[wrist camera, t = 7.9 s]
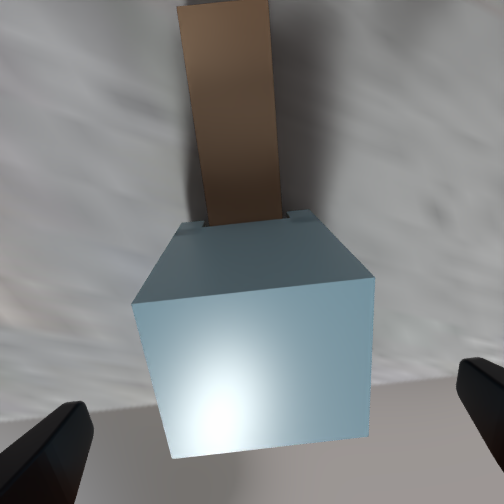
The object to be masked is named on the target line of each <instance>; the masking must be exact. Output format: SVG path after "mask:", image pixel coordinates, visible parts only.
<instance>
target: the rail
mask: <svg viewBox="0 0 504 504" xmlns="http://www.w3.org/2000/svg"><path fill="white" fill-rule="evenodd" d="M177 13H178V20H179V27H180V33H181V40H182V47H183V53H184V60H185V67H186V73H187V80H188V86H189V93H190V100H191V106H192V113H193V120H194V126H195V133H196V140H197V146H198V153H199V159H200V166H201V173H202V179H203V186H204V193H205V199H206V206H207V213H208V219H209V226H219V225H228V224H238V223H247V222H256V221H265V220H275V219H283V217H282V202H281V187H280V172H279V157H278V142H277V127H276V112H275V97H274V82H273V67H272V52H271V37H270V22H269V7H268V0H237V1H227V2H217V3H208V4H198V5H188V6H178V7H177Z"/></svg>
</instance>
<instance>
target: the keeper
mask: <svg viewBox="0 0 504 504" xmlns="http://www.w3.org/2000/svg"><path fill="white" fill-rule="evenodd" d="M286 216H287V218H284V219H275V220H265V221H256V222H247V223H238V224H228V225H219V226H210V227H205V220H204V221H195V222H185V223H181V225H180V226H179V228H178V230H177V231H176V233H175V235H174V236H173V238H172V239H171V241H170V243H169V244H168V246H167V247H166V249H165V251H164V252H163V254H162V255H161V257H160V259H159V260H158V262H157V264H156V265H155V267H154V268H153V270H152V272H151V273H150V275H149V276H148V278H147V280H146V281H145V283H144V285H143V286H142V288H141V289H140V291H139V293H138V294H137V296H136V297H135V299H134V301H133V302H132V304H131V305H132V309H133V312H134V316H135V320H136V324H137V327H138V331H139V335H140V339H141V343H142V346H143V350H144V354H145V358H146V362H147V365H148V369H149V373H150V377H151V381H152V384H153V388H154V392H155V396H156V400H157V403H158V407H159V411H160V415H161V418H162V422H163V426H164V430H165V434H166V437H167V441H168V445H169V449H170V453H171V456H172V459H175V458H184V457H193V456H202V455H211V454H219V453H227V452H237V451H245V450H254V449H263V448H272V447H280V446H288V445H289V446H290V445H298V444H307V443H316V442H323V441H324V442H325V441H333V440H342V439H350V438H360V437H368V435H369V412H370V388H371V364H372V340H373V316H374V291H375V277H374V276H373V275H372V274H371V273H370V272H369V271H368V270H367V269H366V268H365V267H364V266H363V264H362V263H361V262H360V261H359V260H358V259H357V258H356V257H355V256H354V255H353V254H352V253H351V252H350V251H349V250H348V249H347V248H346V247H345V246H344V245H343V244H342V243H341V242H340V241H339V240H338V239H337V238H336V237H335V236H334V235H333V234H332V233H331V232H330V230H329V229H328V228H327V227H326V226H325V225H324V224H323V223H322V222H321V221H320V220H319V219H318V218H317V217H316V216H315V215H314V214H313V213H312V212H311V211H310V210H309V209H306V210H297V211H288V212H286Z"/></svg>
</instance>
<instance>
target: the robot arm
mask: <svg viewBox="0 0 504 504" xmlns="http://www.w3.org/2000/svg"><path fill="white" fill-rule="evenodd" d="M456 390H457V393H458V396H459V398H460V400H461V401H462V403H463V405H464V407H465V408H466V410H467V412H468V413H469V415H470V417H471V419H472V420H473V422H474V424H475V426H476V427H477V429H478V431H479V433H480V434H481V436H482V438H483V439H484V441H485V443H486V445H487V446H488V448H489V450H490V452H491V453H492V455H493V457H494V458H495V460H496V462H497V463H498V465H499V466H500V467H501V469H502V471H503V472H504V368H503V367H501V366H499V365H497V364H494V363H492V362H490V361H488V360H486V359H483V358H480V357H475V358H466V359H462V360H461V362H460V364H459V370H458V376H457V383H456ZM93 434H94V427H93V423H92V421H91V419H90V415H89V412H88V410H87V407H86V405H85V403H84V402H83V401H74V402H67V403H64V404H62V405H61V406H59V407H58V408H57V409H56V410H54V411H53V412H52V413H51V414H49V415H48V416H47V417H46V418H44V419H43V420H42V421H40V423H38V424H37V425H36V426H34V427H33V428H32V429H30V430H29V431H28V432H27V433H25V434H24V435H23V436H22V437H20V438H19V439H18V440H16V441H15V442H14V443H13V444H12V445H10V446H9V447H8V448H6V449H5V450H4V451H3V452H1V453H0V504H74V502H75V499H76V496H77V492H78V489H79V485H80V481H81V478H82V475H83V471H84V467H85V463H86V460H87V457H88V453H89V450H90V446H91V443H92V439H93Z"/></svg>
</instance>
